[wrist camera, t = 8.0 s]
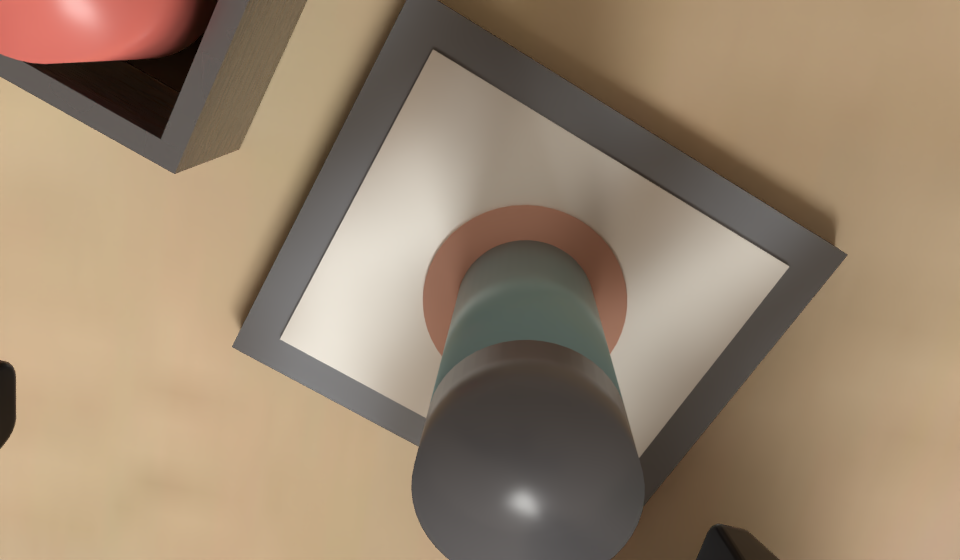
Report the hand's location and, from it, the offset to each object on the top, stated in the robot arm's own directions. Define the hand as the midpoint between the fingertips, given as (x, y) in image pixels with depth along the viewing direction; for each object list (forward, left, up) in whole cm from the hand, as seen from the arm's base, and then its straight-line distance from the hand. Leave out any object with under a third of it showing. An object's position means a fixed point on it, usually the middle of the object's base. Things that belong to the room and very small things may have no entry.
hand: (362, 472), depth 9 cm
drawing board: (-3, +1, -13) cm, 13 cm away
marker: (-3, +1, -12) cm, 12 cm away
